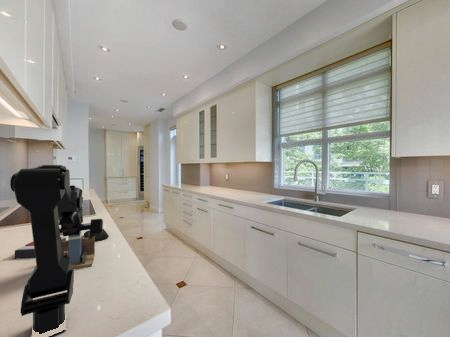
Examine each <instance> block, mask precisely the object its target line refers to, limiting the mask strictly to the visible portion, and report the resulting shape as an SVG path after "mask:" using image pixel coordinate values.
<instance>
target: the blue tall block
mask: <svg viewBox="0 0 450 337" xmlns="http://www.w3.org/2000/svg"><path fill="white" fill-rule="evenodd" d="M67 237H68V238H67V239H68V256H69V257H70V264H76V263H80V261H81V238H82V231H80V234H79V235H71V236H67Z"/></svg>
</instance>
